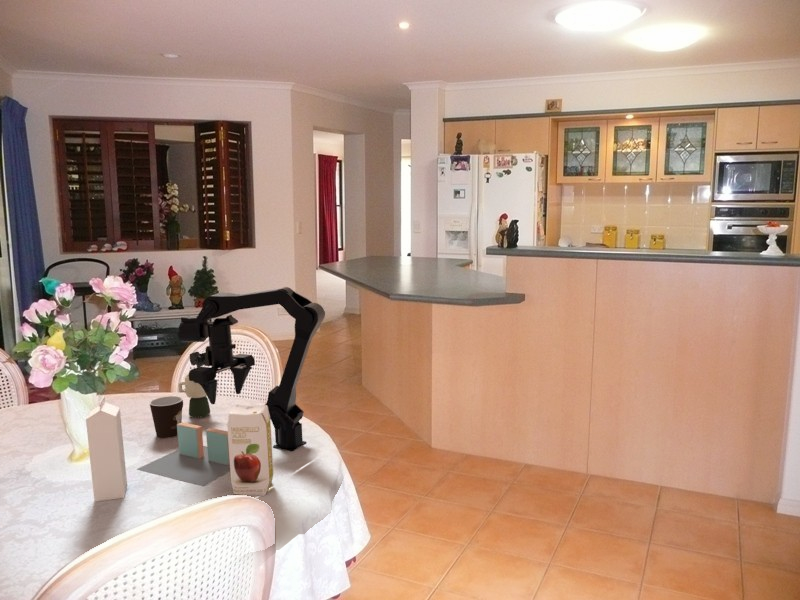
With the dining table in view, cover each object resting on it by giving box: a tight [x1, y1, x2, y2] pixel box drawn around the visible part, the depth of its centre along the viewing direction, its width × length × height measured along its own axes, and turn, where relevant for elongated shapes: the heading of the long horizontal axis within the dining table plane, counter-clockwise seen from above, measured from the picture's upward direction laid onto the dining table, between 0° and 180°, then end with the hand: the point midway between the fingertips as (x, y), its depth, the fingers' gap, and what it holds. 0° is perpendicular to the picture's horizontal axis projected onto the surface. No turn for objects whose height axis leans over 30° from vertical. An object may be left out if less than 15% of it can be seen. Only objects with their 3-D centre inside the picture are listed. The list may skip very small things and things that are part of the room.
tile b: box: [177, 422, 204, 459], centre depth 158 cm, size 7×2×8 cm, turn 63°
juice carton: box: [226, 404, 274, 497], centre depth 138 cm, size 8×9×19 cm
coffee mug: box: [149, 395, 184, 439], centre depth 174 cm, size 12×9×10 cm
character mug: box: [178, 373, 217, 419], centre depth 188 cm, size 11×7×13 cm, turn 105°
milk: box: [85, 396, 128, 503], centre depth 137 cm, size 6×6×22 cm
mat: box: [136, 445, 230, 487], centre depth 154 cm, size 22×18×1 cm
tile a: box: [205, 427, 230, 466], centre depth 153 cm, size 7×2×8 cm, turn 63°
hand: (225, 398), depth 165 cm, fingers open, 9 cm apart
